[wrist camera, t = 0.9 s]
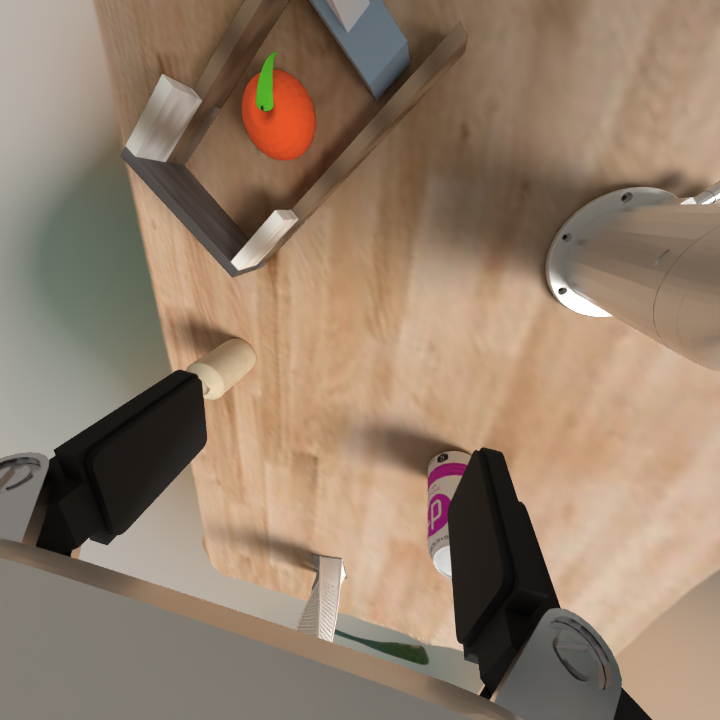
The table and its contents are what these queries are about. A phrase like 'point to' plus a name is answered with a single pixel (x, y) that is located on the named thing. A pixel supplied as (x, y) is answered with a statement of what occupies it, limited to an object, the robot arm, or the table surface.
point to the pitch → (201, 105)
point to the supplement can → (442, 504)
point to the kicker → (367, 39)
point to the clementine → (278, 113)
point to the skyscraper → (323, 598)
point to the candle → (223, 367)
